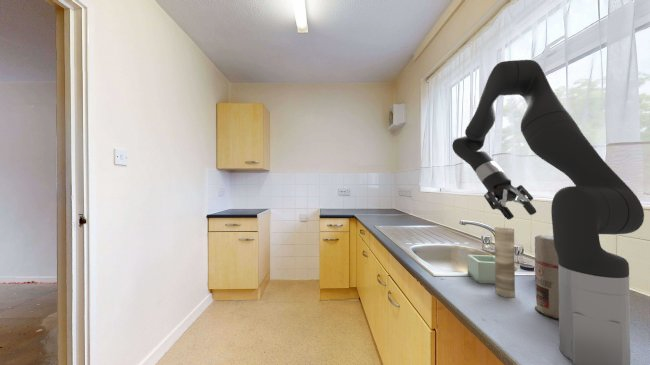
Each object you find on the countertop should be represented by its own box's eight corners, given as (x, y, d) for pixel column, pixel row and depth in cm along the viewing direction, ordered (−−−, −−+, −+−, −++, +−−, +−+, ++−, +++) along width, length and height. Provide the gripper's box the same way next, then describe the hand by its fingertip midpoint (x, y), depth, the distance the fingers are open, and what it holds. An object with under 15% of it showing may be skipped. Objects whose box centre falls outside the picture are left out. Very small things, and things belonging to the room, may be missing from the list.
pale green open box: (507, 284, 82) (507, 263, 82) (478, 282, 84) (478, 262, 84) (493, 274, 91) (493, 255, 91) (467, 273, 93) (467, 254, 93)
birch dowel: (514, 299, 72) (513, 230, 72) (494, 294, 75) (494, 228, 75) (515, 293, 76) (514, 228, 76) (496, 289, 79) (495, 226, 79)
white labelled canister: (531, 303, 69) (531, 232, 70) (571, 310, 65) (571, 235, 65) (538, 317, 62) (538, 237, 62) (584, 326, 58) (583, 241, 58)
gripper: (480, 173, 85) (511, 214, 75) (516, 167, 87) (549, 206, 78) (469, 186, 91) (496, 225, 81) (502, 179, 93) (532, 217, 84)
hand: (522, 216), depth 79 cm, fingers open, 8 cm apart
